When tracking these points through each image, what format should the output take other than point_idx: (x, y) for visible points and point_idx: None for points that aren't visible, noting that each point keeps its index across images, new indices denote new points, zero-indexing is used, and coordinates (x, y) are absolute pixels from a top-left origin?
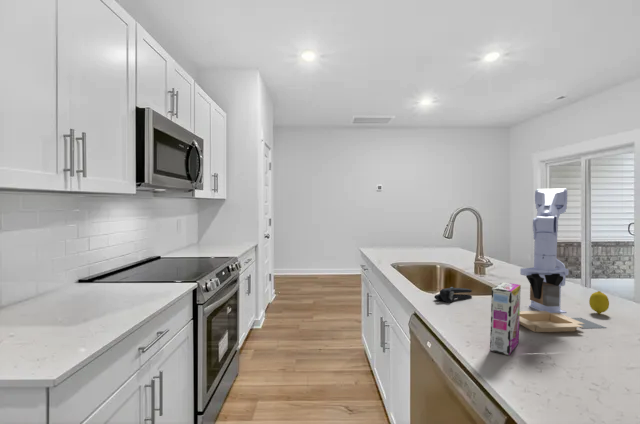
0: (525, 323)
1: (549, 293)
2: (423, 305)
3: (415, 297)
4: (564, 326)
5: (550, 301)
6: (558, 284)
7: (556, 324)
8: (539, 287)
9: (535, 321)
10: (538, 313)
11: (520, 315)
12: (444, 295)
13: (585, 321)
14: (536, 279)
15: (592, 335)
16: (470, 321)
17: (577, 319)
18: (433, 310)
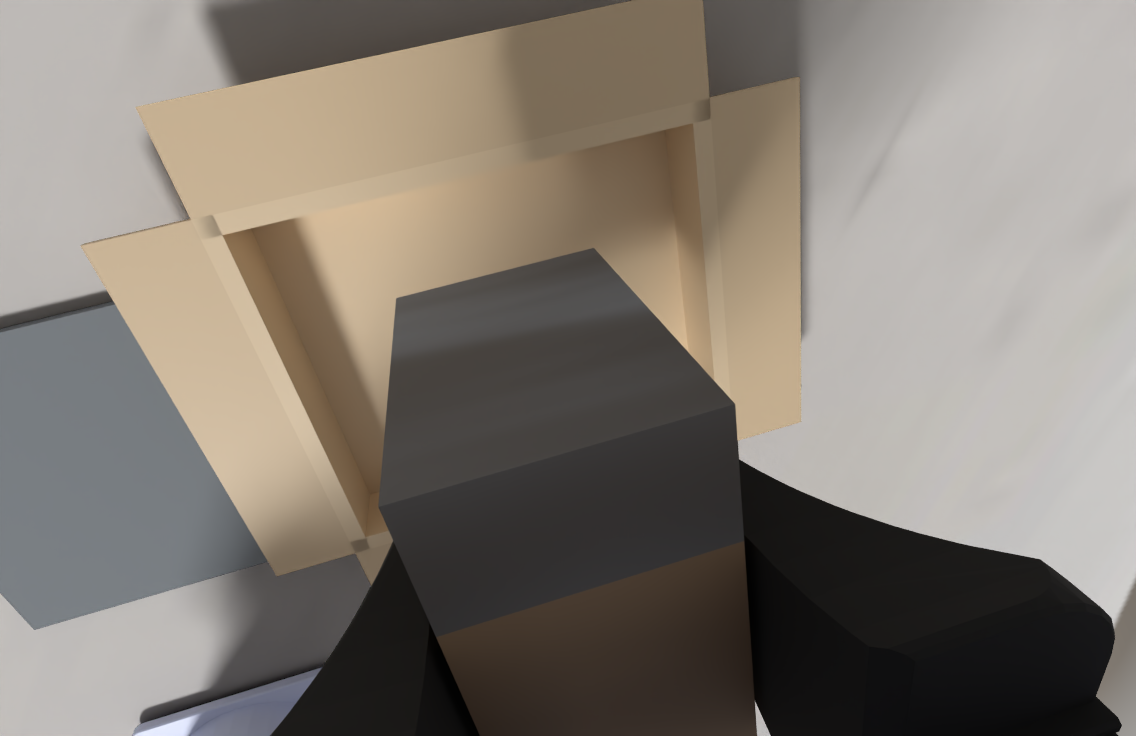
0: (793, 128)
1: (623, 337)
2: (1096, 595)
3: None
4: (395, 71)
5: (559, 286)
6: (325, 690)
7: (464, 142)
8: (776, 505)
9: None
10: None
11: None
12: None
13: (15, 531)
14: (1058, 578)
15: (60, 101)
16: (1026, 330)
17: (86, 570)
18: (1105, 515)
